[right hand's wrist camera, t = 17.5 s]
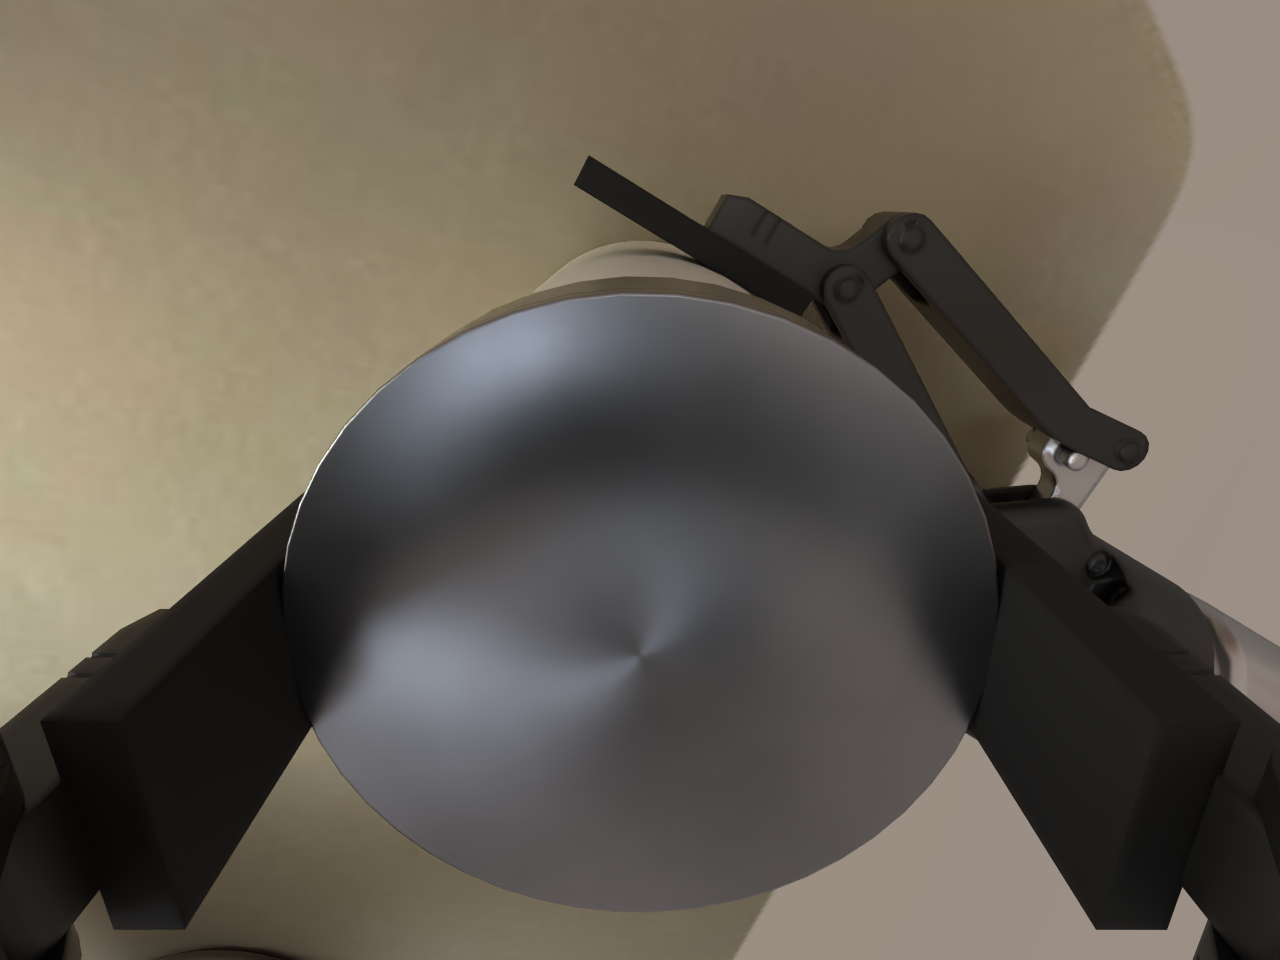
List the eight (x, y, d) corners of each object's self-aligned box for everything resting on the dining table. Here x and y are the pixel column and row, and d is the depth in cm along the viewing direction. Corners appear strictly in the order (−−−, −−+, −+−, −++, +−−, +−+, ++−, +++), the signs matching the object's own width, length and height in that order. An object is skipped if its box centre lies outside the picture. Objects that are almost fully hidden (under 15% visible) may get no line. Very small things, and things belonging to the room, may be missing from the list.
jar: (791, 449, 28) (1003, 794, 12) (564, 517, 29) (468, 921, 13) (727, 203, 25) (895, 206, 9) (475, 288, 26) (195, 437, 10)
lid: (686, 115, 9) (697, 95, 8) (1057, 619, 12) (1130, 691, 10) (207, 553, 12) (128, 617, 10) (609, 898, 14) (604, 998, 13)
